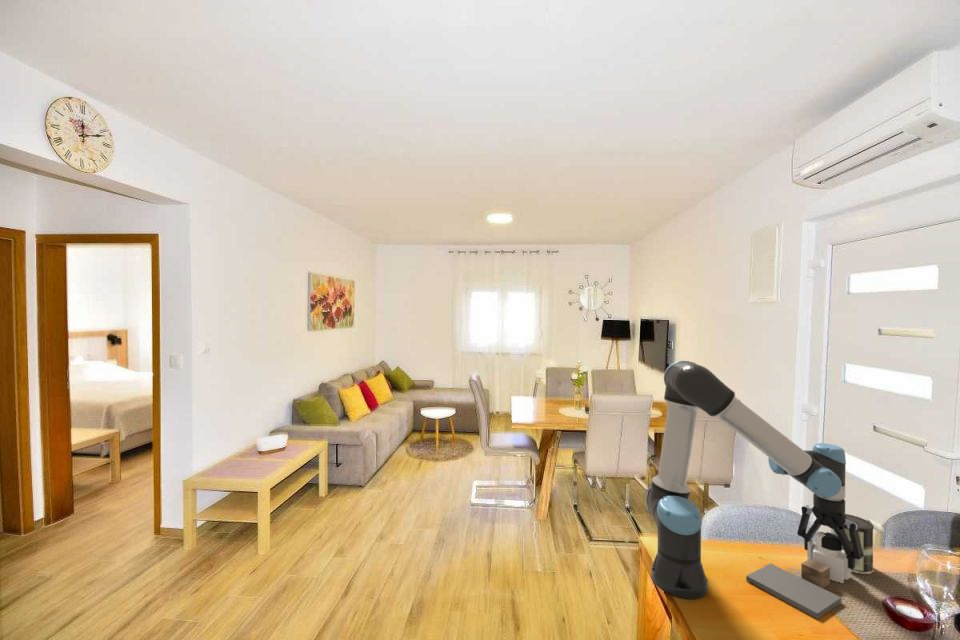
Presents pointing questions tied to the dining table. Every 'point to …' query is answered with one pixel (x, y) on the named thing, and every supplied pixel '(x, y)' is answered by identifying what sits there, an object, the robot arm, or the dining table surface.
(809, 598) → the charcoal serving board
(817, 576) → the walnut block
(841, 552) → the medicine bottle
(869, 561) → the coffee can
